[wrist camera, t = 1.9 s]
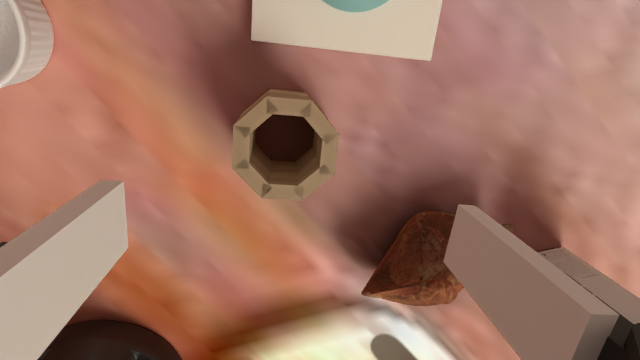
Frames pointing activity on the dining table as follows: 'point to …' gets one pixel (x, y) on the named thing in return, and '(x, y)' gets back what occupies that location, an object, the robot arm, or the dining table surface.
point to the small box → (595, 282)
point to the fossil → (418, 264)
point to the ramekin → (23, 40)
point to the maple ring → (282, 175)
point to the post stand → (350, 25)
